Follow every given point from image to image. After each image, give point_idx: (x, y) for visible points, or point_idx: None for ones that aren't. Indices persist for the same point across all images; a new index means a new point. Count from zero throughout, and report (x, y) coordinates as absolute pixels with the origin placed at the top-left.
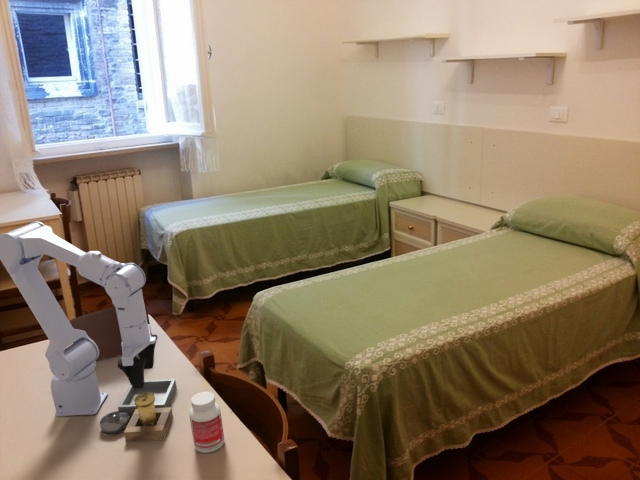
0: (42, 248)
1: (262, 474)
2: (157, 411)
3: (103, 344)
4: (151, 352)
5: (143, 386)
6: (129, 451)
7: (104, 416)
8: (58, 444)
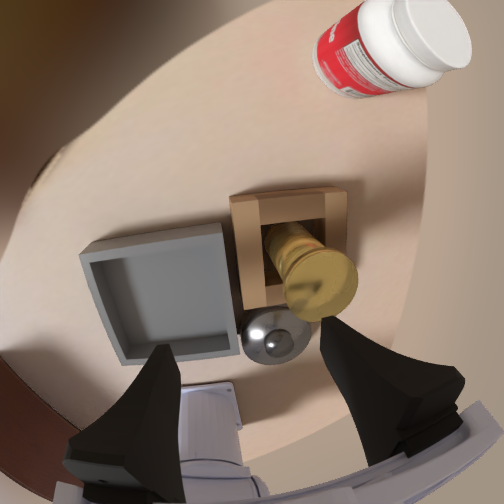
0: None
1: None
2: (256, 241)
3: (53, 439)
4: (153, 407)
5: (325, 317)
6: (363, 255)
7: (265, 363)
8: (319, 387)
